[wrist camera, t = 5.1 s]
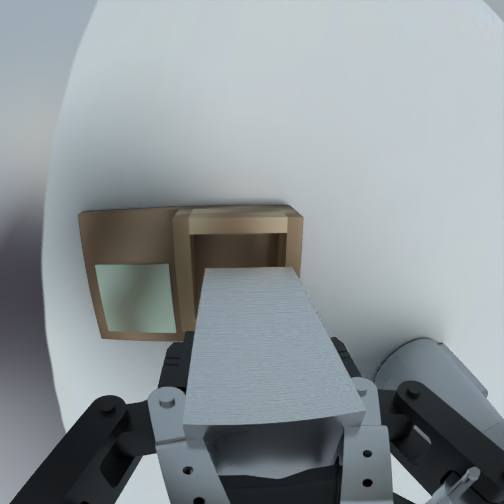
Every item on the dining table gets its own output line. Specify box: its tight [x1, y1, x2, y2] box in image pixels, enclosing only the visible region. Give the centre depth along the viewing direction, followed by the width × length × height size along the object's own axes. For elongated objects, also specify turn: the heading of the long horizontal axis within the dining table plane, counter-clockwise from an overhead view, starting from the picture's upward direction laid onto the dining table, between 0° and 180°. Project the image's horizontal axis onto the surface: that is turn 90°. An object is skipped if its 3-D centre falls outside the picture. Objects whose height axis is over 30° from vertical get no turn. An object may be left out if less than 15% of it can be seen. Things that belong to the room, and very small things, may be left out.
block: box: [182, 267, 366, 479], centre depth 12 cm, size 4×4×10 cm
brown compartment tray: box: [78, 205, 303, 341], centre depth 22 cm, size 16×11×4 cm
